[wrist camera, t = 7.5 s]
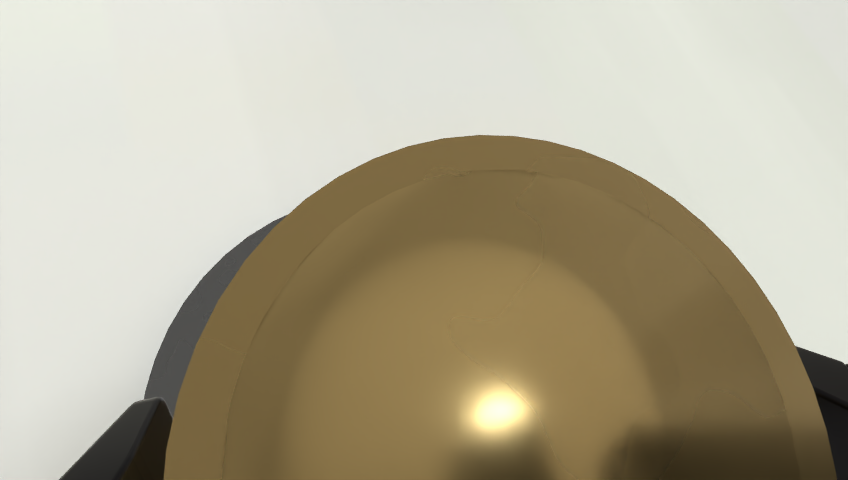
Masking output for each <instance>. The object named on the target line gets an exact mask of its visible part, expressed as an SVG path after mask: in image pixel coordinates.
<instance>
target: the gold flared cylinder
mask: <svg viewBox="0 0 848 480" xmlns="http://www.w3.org/2000/svg"><path fill="white" fill-rule="evenodd" d="M164 480H837V477H836V471H835V466H834V462H833V457H832V453H831V448H830V443H829V439H828V434H827V430H826V426H825V423H824V420H823V417H822V414H821V411H820V408H819V405H818V402H817V399H816V395H815V392H814V389H813V386H812V384H811V382H810V379H809V377H808V375H807V372H806V370H805V368H804V365H803V363H802V361H801V358H800V356H799V354H798V351H797V349H796V347H795V345H794V343H793V342H792V340H791V338H790V336H789V334H788V332H787V330H786V329H785V327H784V325H783V323H782V321H781V319H780V318H779V316H778V314H777V312H776V311H775V309H774V308H773V306H772V305H771V303H770V302H769V300H768V299H767V297H766V296H765V294H764V293H763V291H762V290H761V288H760V287H759V285H758V284H757V282H756V281H755V279H754V278H753V277H752V276H751V274H750V273H749V272H748V271H747V270H746V268H745V267H744V266H743V265H742V263H741V262H740V261H739V260H738V259H737V257H736V256H735V255H734V254H733V253H732V251H731V250H730V249H729V248H728V247H727V246H726V245H725V244H724V243H723V242H722V241H721V240H720V239H719V238H718V237H717V236H716V235H715V234H714V233H713V232H712V231H711V230H710V229H709V228H708V227H707V226H706V225H705V224H704V223H703V222H702V221H701V220H700V219H698V218H697V217H696V216H695V215H693V214H692V213H691V212H690V211H689V210H687V209H686V208H685V207H684V206H683V205H681V204H680V203H679V202H678V201H676V200H675V199H674V198H672V197H671V196H669V195H668V194H666V193H665V192H663V191H662V190H660V189H659V188H657V187H656V186H654V185H653V184H651V183H650V182H648V181H647V180H645V179H643V178H642V177H640V176H638V175H636V174H634V173H632V172H630V171H628V170H626V169H624V168H622V167H621V166H619V165H617V164H615V163H613V162H610V161H608V160H605V159H602V158H600V157H597V156H595V155H592V154H590V153H587V152H585V151H582V150H579V149H575V148H571V147H567V146H564V145H560V144H556V143H553V142H549V141H543V140H536V139H529V138H523V137H516V136H490V135H475V136H465V137H454V138H443V139H439V140H434V141H430V142H425V143H421V144H416V145H412V146H408V147H405V148H402V149H399V150H397V151H394V152H391V153H388V154H385V155H383V156H380V157H377V158H374V159H372V160H370V161H368V162H366V163H364V164H362V165H360V166H358V167H356V168H354V169H352V170H350V171H349V172H347V173H345V174H343V175H341V176H339V177H337V178H336V179H334V180H333V181H331V182H330V183H329V184H327V185H326V186H324V187H323V188H321V189H320V190H318V191H317V192H315V193H314V194H312V195H311V196H310V197H308V198H307V199H305V200H304V201H303V202H302V203H301V204H300V205H299V206H297V207H296V208H295V209H294V210H293V211H292V212H291V213H290V214H288V215H287V216H286V217H285V218H284V219H283V220H282V221H281V222H279V223H278V224H277V225H276V226H275V227H274V228H273V229H272V230H271V231H270V233H269V234H268V235H267V236H266V237H265V238H264V239H263V241H262V242H261V243H260V244H259V245H258V246H257V247H256V249H255V250H254V251H253V252H252V253H251V254H250V255H249V257H248V258H247V259H246V260H245V261H244V263H243V264H242V266H241V267H240V269H239V270H238V272H237V273H236V275H235V276H234V278H233V279H232V281H231V282H230V284H229V285H228V287H227V288H226V290H225V291H224V293H223V294H222V296H221V297H220V299H219V300H218V302H217V304H216V306H215V308H214V310H213V312H212V314H211V316H210V318H209V320H208V322H207V324H206V326H205V328H204V330H203V332H202V334H201V336H200V338H199V340H198V342H197V344H196V346H195V349H194V352H193V355H192V358H191V360H190V363H189V366H188V369H187V372H186V375H185V377H184V380H183V383H182V386H181V389H180V392H179V394H178V398H177V403H176V408H175V412H174V417H173V421H172V426H171V431H170V435H169V440H168V444H167V449H166V459H165V470H164Z"/></svg>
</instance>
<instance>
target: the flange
mask: <svg viewBox="0 0 848 480" xmlns="http://www.w3.org/2000/svg"><path fill="white" fill-rule="evenodd" d="M286 216H287V215H286ZM286 216H284V217H282V218H280V219H277V220H275V221H273V222H271V223H270V224H268V225H266V226H265V227H263V228H262V229H260V230H258V231H257V232H255V233H253V234H252V235H250V236H248V237H247V238H246V239H245V240H243V241H242V242H241V243H240V244H238V245H237V246H236V247H235V248H233V249H232V250H231V251H230V252H228V253H227V254H226V255H225V256H224V257H223V258H222V259H221V260H220V261H219V262H218V263H217V264H216V265H215V266H214V267H213V268H212V269H211V270H210V271H209V272H208V273H207V274H206V275H205V276H204V277H203V278H202V280H201V281H200V282H199V284H198V285H197V286H196V287H195V289H194V290H193V291H192V293H191V294H190V295H189V296H188V298H187V299H186V300H185V302H184V303H183V305H182V307H181V308H180V310H179V312H178V313H177V315H176V317H175V319H174V320H173V322H172V324H171V325H170V327H169V329H168V331H167V333H166V335H165V338H164V340H163V342H162V344H161V347H160V349H159V351H158V354H157V356H156V358H155V361H154V364H153V368H152V371H151V374H150V378H149V381H148V385H147V388H146V391H145V397H144V400H145V399H150V398H155V397H161V398H163V399H164V400H165V402H166V404H167V406H168V408H169V411H170V413H171V416H172V418H173V417H174V412H175V408H176V403H177V398H178V394H179V392H180V389H181V386H182V383H183V380H184V377H185V375H186V372H187V369H188V366H189V363H190V360H191V358H192V355H193V352H194V349H195V346H196V344H197V342H198V340H199V338H200V336H201V334H202V332H203V330H204V328H205V326H206V324H207V322H208V320H209V318H210V316H211V314H212V312H213V310H214V308H215V306H216V304H217V302H218V300H219V299H220V297H221V296H222V294H223V293H224V291H225V290H226V288H227V287H228V285H229V284H230V282H231V281H232V279H233V278H234V276H235V275H236V273H237V272H238V270H239V269H240V267H241V266H242V264H243V263H244V261H245V260H246V259H247V258H248V257H249V255H250V254H251V253H252V252H253V251H254V250H255V249H256V247H257V246H258V245H259V244H260V243H261V242H262V241H263V239H264V238H265V237H266V236H267V235H268V234H269V233H270V231H271V230H272V229H273V228H274V227H275V226H276V225H277V224H278V223H279V222H281V221H282V220H283V219H284V218H285V217H286Z"/></svg>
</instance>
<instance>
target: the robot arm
mask: <svg viewBox="0 0 848 480" xmlns="http://www.w3.org/2000/svg"><path fill="white" fill-rule="evenodd" d="M795 347H796V349H797V351H798V354H799V356H800V358H801V361H802V363H803V365H804V368H805V370H806V372H807V375H808V377H809V379H810V382H811V384H812V386H813V389H814V392H815V395H816V399H817V402H818V405H819V408H820V411H821V414H822V417H823V420H824V423H825V426H826V430H827V434H828V439H829V443H830V448H831V453H832V457H833V462H834V466H835V471H836V477H837V480H848V364H844V363H843V362H841V361H838V360H835V359H832V358H829V357H826V356H823V355H820V354H817V353H814V352H811V351H808V350H805V349H803V348H800V347H797V346H795ZM172 421H173V418H172V416H171V413H170V411H169V408H168V406H167V404H166V402H165V400H164V399H163V398H161V397H155V398H150V399H145V400H141V401H137V402H135V403H133V404H132V405H131V406H130V407H129V408H128V409H127V410H126V411H125V412H124V413H123V414H122V415H121V416H120V417H119V418H118V419H117V420H116V421H115V422H114V423H113V424H112V425H111V426H110V427H109V429H108V430H107V431H106V432H105V433H104V434H103V435H102V436H101V437H100V438H99V439H98V440H97V441H96V442H95V443H94V444H93V445H92V446H91V447H90V448H89V449H88V450H87V451H86V452H85V453H84V454H83V455H82V456H81V457H80V459H79V460H78V461H77V462H76V463H75V464H74V465H73V466H72V467H71V468H70V469H69V470H68V471H67V472H66V473H65V474H64V475H63V476H62V477H61V478H60V479H59V480H164V470H165V459H166V449H167V444H168V440H169V435H170V431H171V426H172Z"/></svg>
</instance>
